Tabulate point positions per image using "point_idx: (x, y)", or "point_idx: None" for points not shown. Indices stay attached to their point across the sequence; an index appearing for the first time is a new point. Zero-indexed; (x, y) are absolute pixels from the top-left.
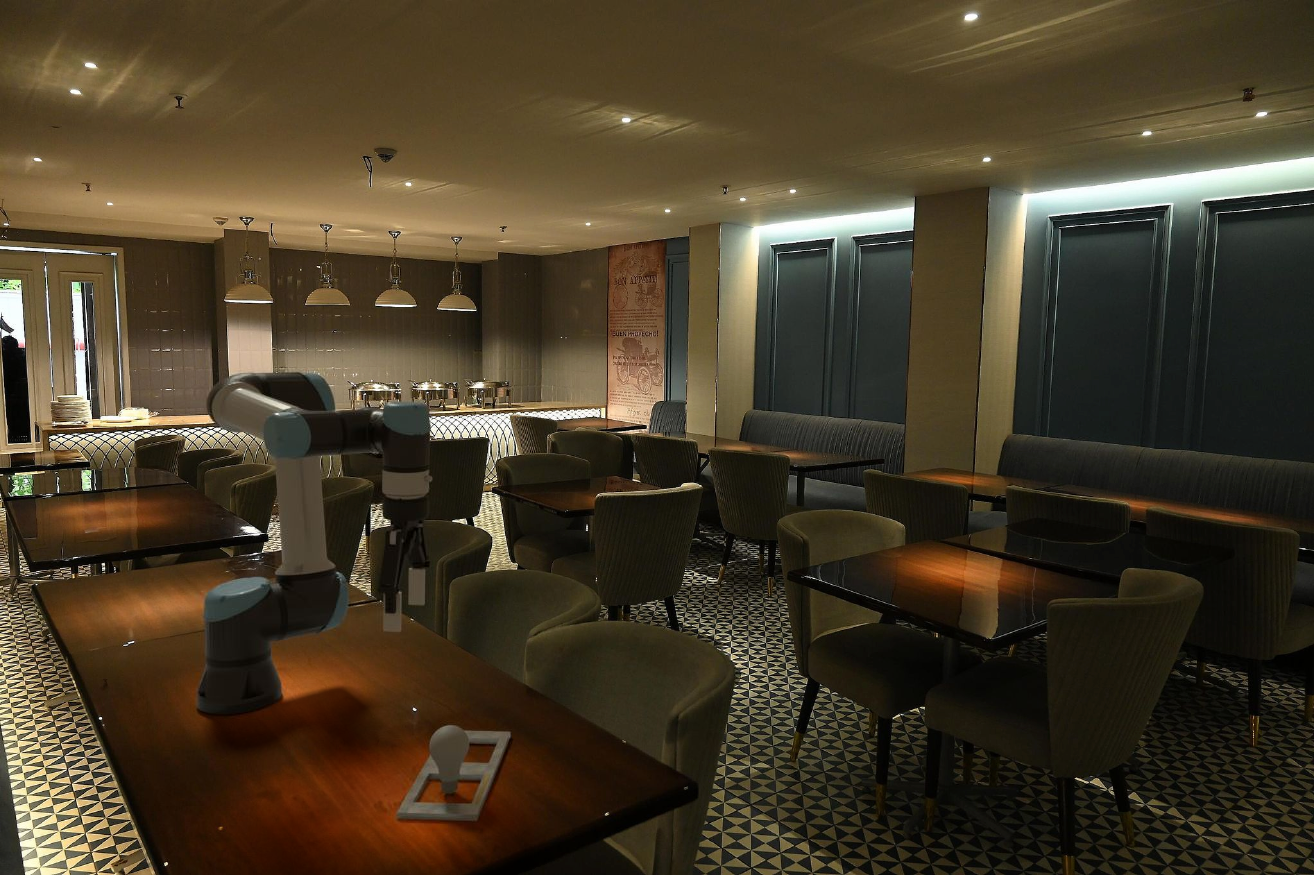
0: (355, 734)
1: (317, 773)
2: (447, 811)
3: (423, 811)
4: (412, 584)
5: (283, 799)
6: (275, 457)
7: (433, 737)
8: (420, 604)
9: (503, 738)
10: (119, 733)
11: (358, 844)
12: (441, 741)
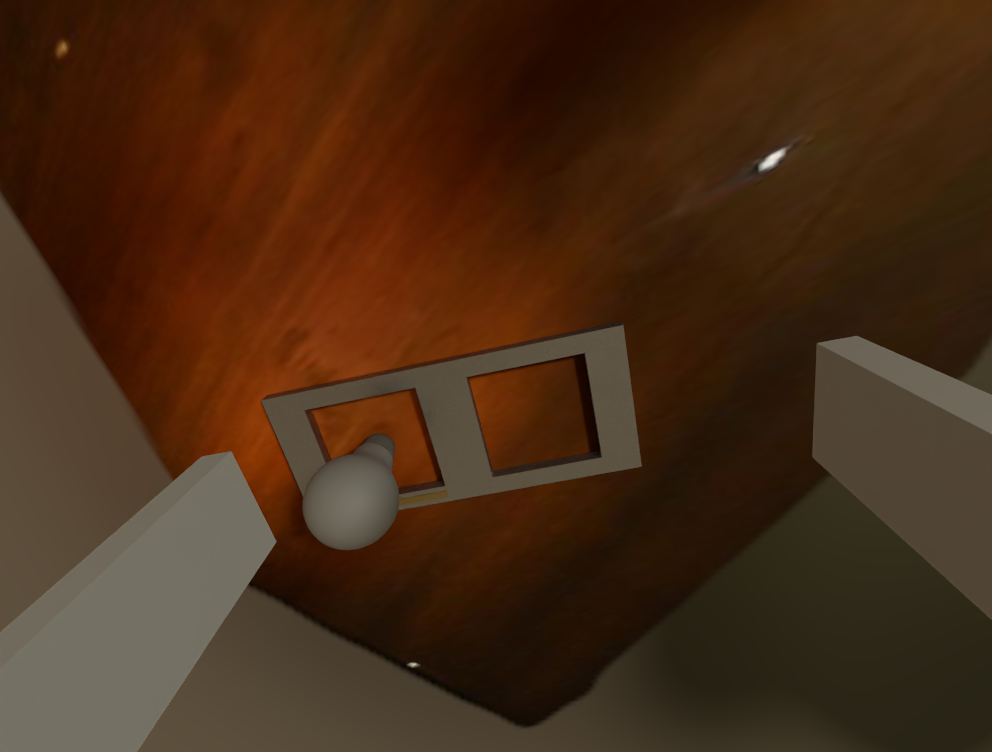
0: (579, 75)
1: (353, 115)
2: (304, 478)
3: (285, 442)
4: (989, 479)
5: (221, 114)
6: None
7: (313, 493)
8: (816, 438)
9: (606, 464)
10: None
11: (170, 373)
12: (304, 516)
